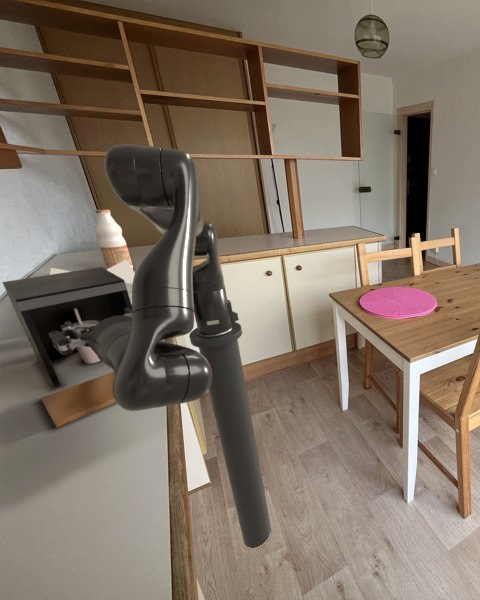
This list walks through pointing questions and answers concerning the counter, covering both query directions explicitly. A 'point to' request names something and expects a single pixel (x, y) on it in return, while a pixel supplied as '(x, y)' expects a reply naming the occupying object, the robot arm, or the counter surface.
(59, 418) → the board
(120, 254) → the fruit juice
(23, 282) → the shelf
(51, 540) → the counter surface
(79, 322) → the smoothie
